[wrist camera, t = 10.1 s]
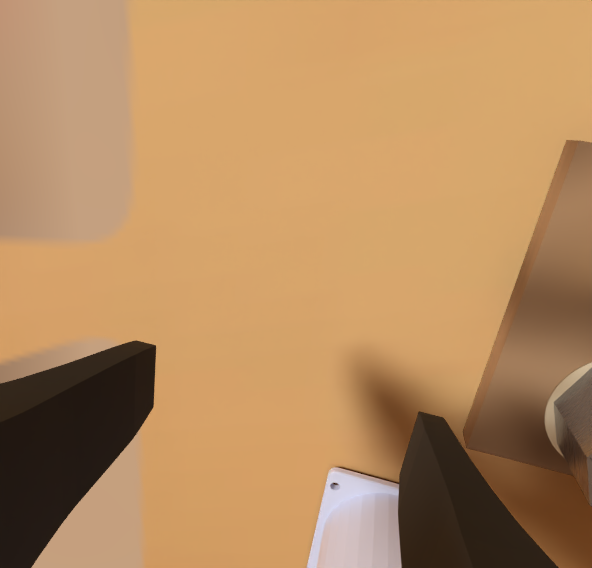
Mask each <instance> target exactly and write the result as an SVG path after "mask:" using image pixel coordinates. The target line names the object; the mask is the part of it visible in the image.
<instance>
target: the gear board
mask: <svg viewBox="0 0 592 568" xmlns="http://www.w3.org/2000/svg"><path fill="white" fill-rule="evenodd" d="M591 368H592V143H590V142H584V141H573V140H567V141H566V144H565V146H564V149H563V152H562V155H561V158H560V160H559V163H558V166H557V169H556V172H555V175H554V177H553V180H552V183H551V186H550V189H549V191H548V194H547V197H546V200H545V203H544V205H543V208H542V211H541V214H540V217H539V219H538V222H537V225H536V228H535V231H534V233H533V236H532V239H531V242H530V245H529V247H528V250H527V253H526V256H525V259H524V262H523V264H522V267H521V270H520V273H519V276H518V278H517V281H516V284H515V287H514V290H513V292H512V295H511V298H510V301H509V304H508V306H507V309H506V312H505V315H504V318H503V320H502V323H501V326H500V329H499V332H498V335H497V337H496V340H495V343H494V346H493V349H492V351H491V354H490V357H489V360H488V363H487V365H486V368H485V371H484V374H483V377H482V379H481V382H480V385H479V388H478V391H477V393H476V396H475V399H474V402H473V405H472V408H471V410H470V413H469V416H468V419H467V422H466V424H465V427H464V430H463V435H464V439H465V443H466V448H468V449H472V450H476V451H480V452H484V453H488V454H492V455H495V456H499V457H503V458H507V459H511V460H515V461H519V462H522V463H526V464H530V465H534V466H538V467H542V468H546V469H550V470H553V471H557V472H561V473H565V474H569V475H573V473H572V471H571V469H570V467H569V465H568V464H567V462H566V460H565V458H564V456H563V454H562V452H561V450H560V449H559V447H558V445H557V439H556V427H555V415H554V401H555V400H557V399H558V398H559V397H560V396H561V395H562V394H563V393H564V392H565V391H566V390H567V389H569V388H570V387H571V386H572V385H573V384H574V383H575V382H576V381H577V380H578V379H580V378H581V377H582V376H583V375H584V374H585V373H586V372H587V371H588V370H589V369H591ZM573 476H574V475H573Z"/></svg>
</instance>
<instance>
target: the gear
mask: <svg viewBox="0 0 592 568" xmlns="http://www.w3.org/2000/svg"><path fill="white" fill-rule="evenodd" d="M554 415H555V427H556V439H557V445H558V447H559V449H560V450H561V452H562V454H563V456H564V458H565V460H566V462H567V464H568V465H569V467H570V469H571V471H572V473H573V475H574V477H575V479H576V480H577V482H578V484H579V486H580V488H581V490H582V492H583V494H584V495H585V497H586V499H587V501H588V503H589V505H590V506H592V368H591V369H589V370H588V371H587V372H586V373H585V374H584V375H583V376H582V377H581V378H580V379H578V380H577V381H576V382H575V383H574V384H573V385H572V386H571V387H570V388H569V389H567V390H566V391H565V392H564V393H563V394H562V395H561V396H560V397H559V398H558V399H557V400H555V401H554Z"/></svg>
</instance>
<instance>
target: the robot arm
mask: <svg viewBox="0 0 592 568" xmlns="http://www.w3.org/2000/svg"><path fill="white" fill-rule="evenodd" d="M155 359H156V345H152V344H148V343H144V342H140V341H132V342H128V343H125V344H122V345H119V346H116V347H113V348H110V349H107V350H105V351H101V352H99V353H96V354H93V355H90V356H87V357H84V358H82V359H79V360H76V361H73V362H70V363H67V364H64V365H61V366H58V367H55V368H52V369H49V370H46V371H43V372H39V373H36V374H33V375H30V376H26V377H24V378H20V379H16V380H13V381H9V382H5V383H1V384H0V568H31V567H32V566H33V564H34V563H35V561H36V560H37V558H38V557H39V555H40V554H41V552H42V551H43V549H44V548H45V547H46V545H47V544H48V542H49V541H50V539H51V538H52V537H53V535H54V534H55V533H56V531H57V530H58V528H59V527H60V526H61V524H62V523H63V521H64V520H65V519H66V518H67V516H68V515H69V514H70V512H71V511H72V510H73V508H74V507H75V506H76V505H77V504H78V502H79V501H80V500H81V499H82V498H83V497H84V496H85V494H86V493H87V492H88V491H89V490H90V489H91V487H92V486H93V485H94V484H95V483H96V481H97V480H98V479H99V478H100V477H101V476H102V475H103V473H104V472H105V471H106V470H107V469H108V468H109V466H110V465H111V464H112V463H113V462H114V461H115V459H116V458H117V457H118V456H119V455H120V453H121V452H122V451H123V450H124V448H125V447H126V446H127V445H128V444H129V443H130V442H131V440H132V439H133V438H134V436H135V435H136V433H137V432H138V430H139V429H140V427H141V426H142V425H143V423H144V421H145V420H146V418H147V417H148V415H149V413H150V412H151V410H152V408H153V405H154V382H155ZM333 483H337V484H339V485H334V484H333ZM307 568H558V567H557V566H556V565H555V563H554V562H553V561H552V560H551V559H550V558H549V557H548V556H547V555H546V554H545V553H544V552H543V551H542V549H541V548H540V547H539V546H538V545H537V544H536V543H535V542H534V541H533V539H532V538H531V537H530V536H529V535H528V534H527V533H526V532H525V530H524V529H523V528H522V527H521V526H520V525H519V523H518V522H517V521H516V520H515V519H514V517H513V516H512V515H511V514H510V512H509V511H508V510H507V508H506V507H505V506H504V505H503V503H502V502H501V501H500V500H499V498H498V497H497V496H496V494H495V493H494V492H493V490H492V489H491V488H490V486H489V485H488V484H487V482H486V481H485V479H484V478H483V477H482V475H481V474H480V472H479V471H478V470H477V468H476V467H475V465H474V464H473V462H472V461H471V459H470V458H469V456H468V455H467V453H466V452H465V450H464V449H463V447H462V446H461V444H460V443H459V441H458V439H457V438H456V436H455V435H454V433H453V432H452V430H451V429H450V427H449V425H448V424H447V422H446V421H445V419H444V418H443V417H439V416H435V415H431V414H427V413H423V412H419V413H418V416H417V419H416V423H415V426H414V429H413V432H412V436H411V439H410V442H409V445H408V449H407V452H406V455H405V459H404V462H403V465H402V468H401V472H400V478H399V484H396V483H393V482H389V481H385V480H382V479H378V478H374V477H371V476H367V475H364V474H360V473H356V472H353V471H349V470H345V469H342V468H337V467H335V468H332V469H330V471H329V473H328V477H327V481H326V486H325V490H324V494H323V499H322V503H321V507H320V512H319V516H318V521H317V525H316V529H315V534H314V538H313V542H312V547H311V551H310V555H309V560H308V564H307Z"/></svg>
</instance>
